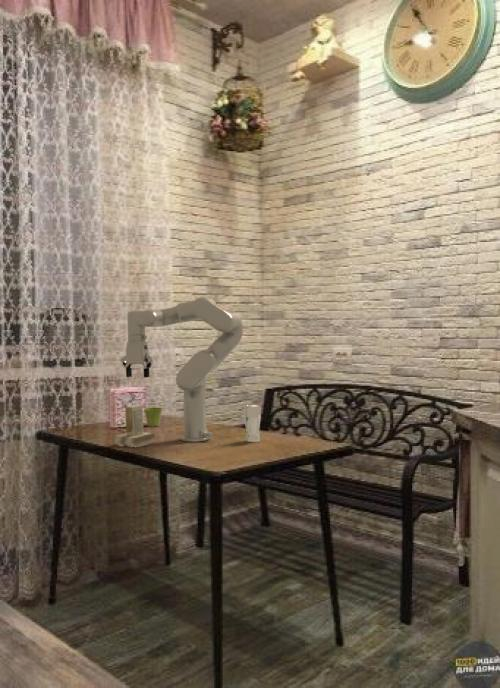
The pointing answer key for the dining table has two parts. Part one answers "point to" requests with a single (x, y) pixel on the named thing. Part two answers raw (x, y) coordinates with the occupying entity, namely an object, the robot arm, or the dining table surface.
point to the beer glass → (252, 422)
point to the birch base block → (134, 440)
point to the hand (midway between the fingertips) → (137, 377)
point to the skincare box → (134, 420)
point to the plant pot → (153, 416)
